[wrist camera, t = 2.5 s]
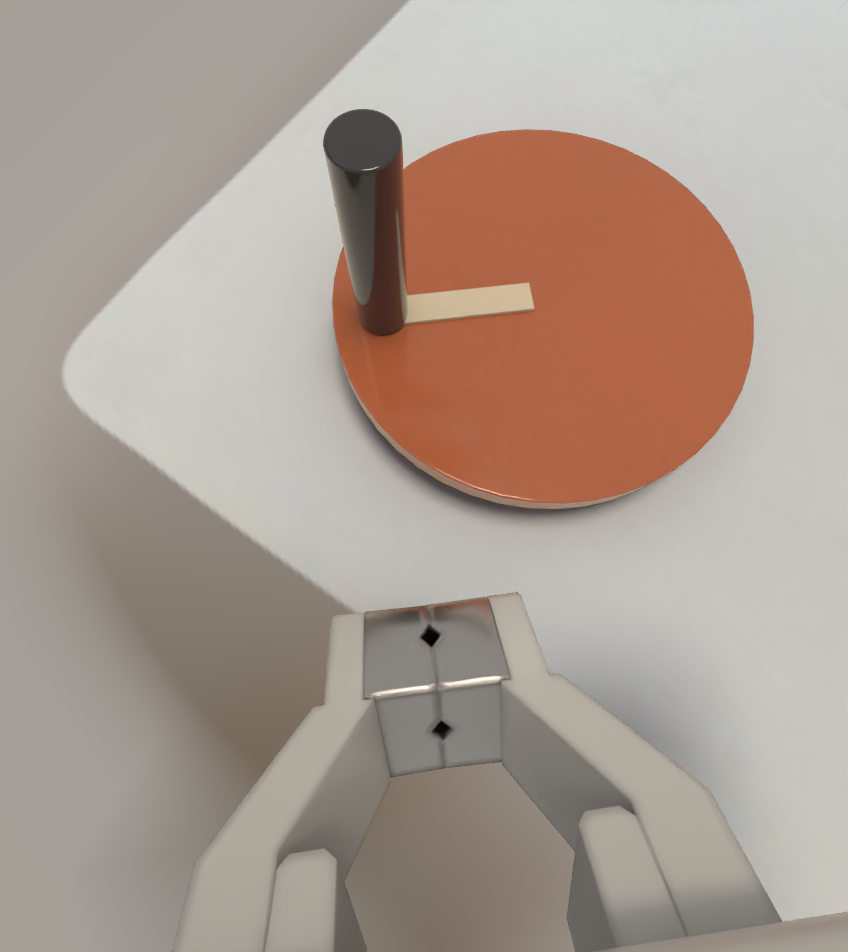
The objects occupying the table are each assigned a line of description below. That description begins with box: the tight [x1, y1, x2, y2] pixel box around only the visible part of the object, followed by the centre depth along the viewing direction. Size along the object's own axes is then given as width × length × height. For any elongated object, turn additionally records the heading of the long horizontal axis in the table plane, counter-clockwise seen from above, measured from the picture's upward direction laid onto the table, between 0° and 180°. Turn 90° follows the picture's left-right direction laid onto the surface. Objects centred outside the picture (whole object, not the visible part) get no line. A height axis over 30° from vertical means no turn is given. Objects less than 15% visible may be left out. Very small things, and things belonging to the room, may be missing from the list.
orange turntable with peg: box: [323, 109, 754, 509], centre depth 18 cm, size 17×17×9 cm
